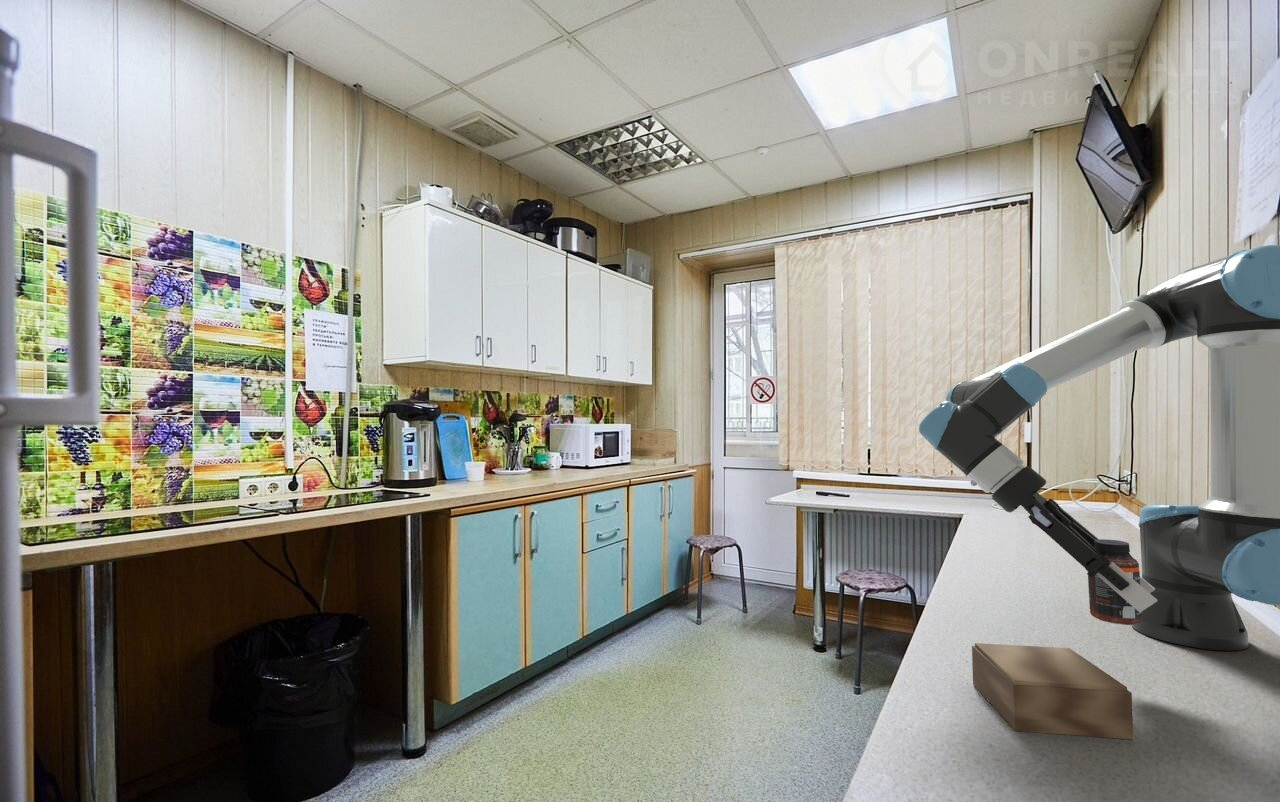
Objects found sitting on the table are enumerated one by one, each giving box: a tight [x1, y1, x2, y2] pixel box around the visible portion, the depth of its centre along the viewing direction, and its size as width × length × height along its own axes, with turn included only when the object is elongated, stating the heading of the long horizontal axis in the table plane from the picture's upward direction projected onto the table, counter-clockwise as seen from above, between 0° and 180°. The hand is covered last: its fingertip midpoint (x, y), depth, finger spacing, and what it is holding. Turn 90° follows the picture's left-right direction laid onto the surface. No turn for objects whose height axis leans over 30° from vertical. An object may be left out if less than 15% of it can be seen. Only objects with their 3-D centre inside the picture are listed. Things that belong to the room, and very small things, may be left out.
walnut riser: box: [971, 642, 1134, 740], centre depth 77 cm, size 13×13×6 cm
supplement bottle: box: [1087, 538, 1142, 626], centre depth 85 cm, size 6×6×11 cm
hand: (1147, 600), depth 83 cm, fingers closed on supplement bottle, 6 cm apart
